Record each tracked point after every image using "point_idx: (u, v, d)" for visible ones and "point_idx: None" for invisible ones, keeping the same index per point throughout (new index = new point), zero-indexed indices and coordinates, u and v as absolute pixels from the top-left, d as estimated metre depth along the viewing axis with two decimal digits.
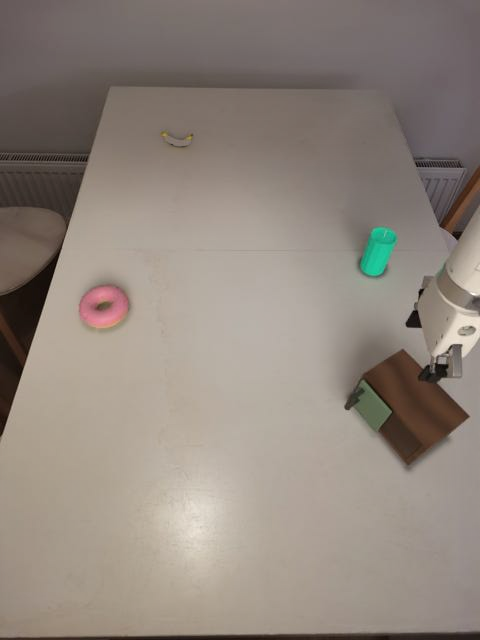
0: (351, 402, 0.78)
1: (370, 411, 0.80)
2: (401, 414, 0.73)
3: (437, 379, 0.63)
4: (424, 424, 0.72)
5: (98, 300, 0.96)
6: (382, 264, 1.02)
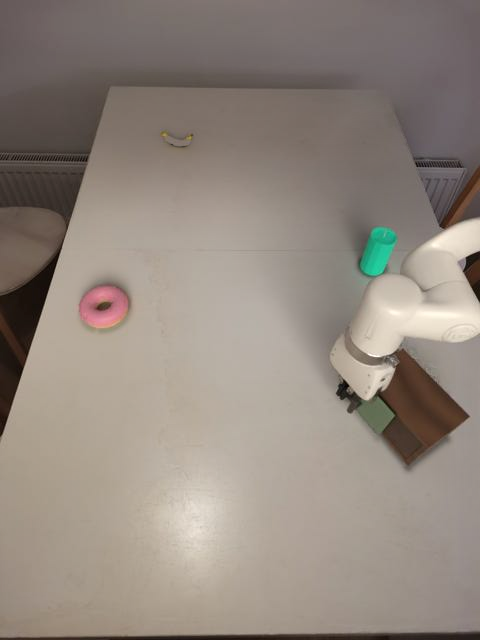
0: (354, 405, 0.78)
1: (372, 414, 0.80)
2: (401, 414, 0.73)
3: (354, 393, 0.77)
4: (424, 424, 0.72)
5: (98, 300, 0.96)
6: (382, 264, 1.02)
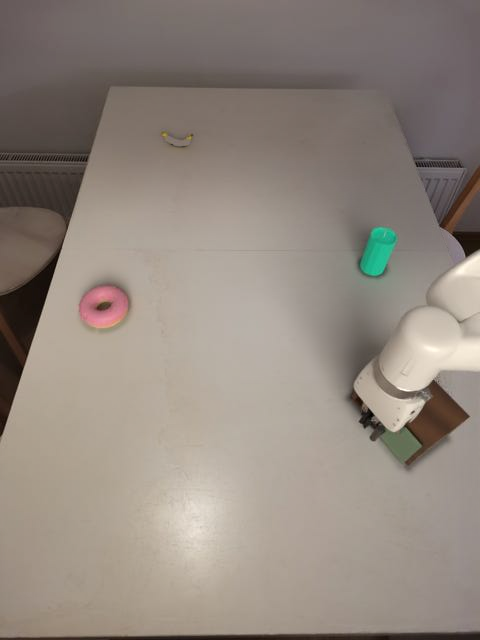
0: (378, 434, 0.75)
1: (397, 442, 0.77)
2: None
3: (378, 422, 0.74)
4: (424, 424, 0.72)
5: (98, 300, 0.96)
6: (382, 264, 1.02)
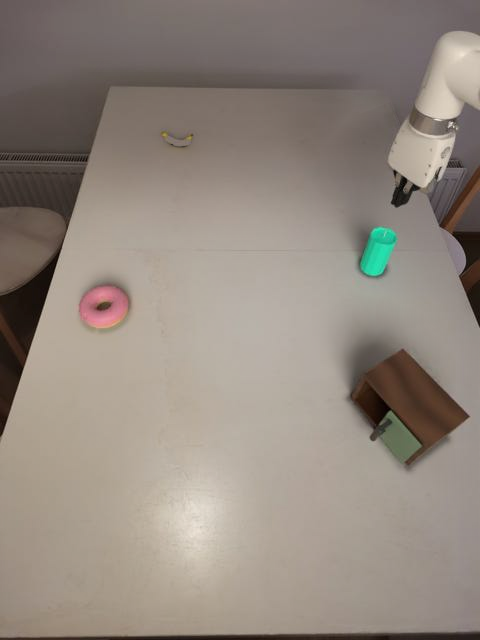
0: (378, 434, 0.75)
1: (397, 442, 0.77)
2: (401, 414, 0.73)
3: (408, 198, 0.86)
4: (424, 424, 0.72)
5: (98, 300, 0.96)
6: (382, 264, 1.02)
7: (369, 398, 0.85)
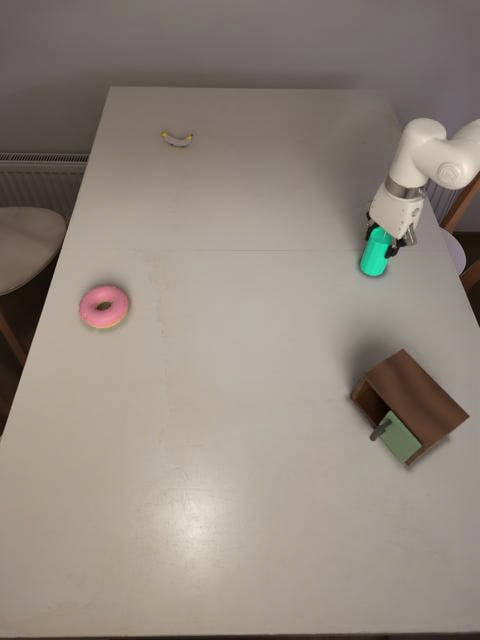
0: (378, 434, 0.75)
1: (397, 442, 0.77)
2: (401, 414, 0.73)
3: (397, 251, 0.97)
4: (424, 424, 0.72)
5: (98, 300, 0.96)
6: (382, 264, 1.02)
7: (369, 398, 0.85)
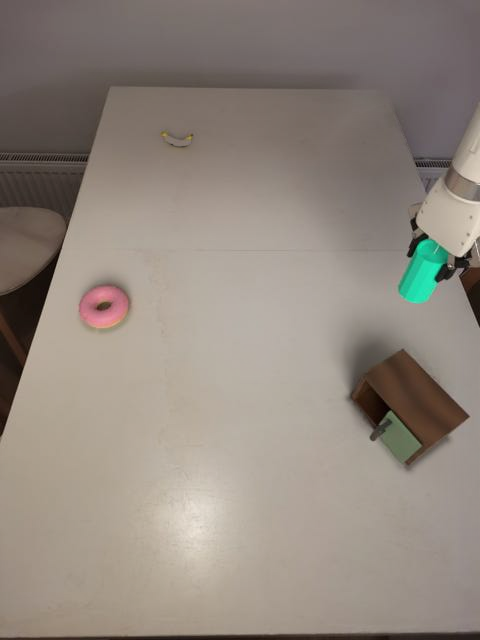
0: (378, 434, 0.75)
1: (397, 442, 0.77)
2: (401, 414, 0.73)
3: (453, 273, 0.71)
4: (424, 424, 0.72)
5: (98, 300, 0.96)
6: (429, 289, 0.76)
7: (369, 398, 0.85)
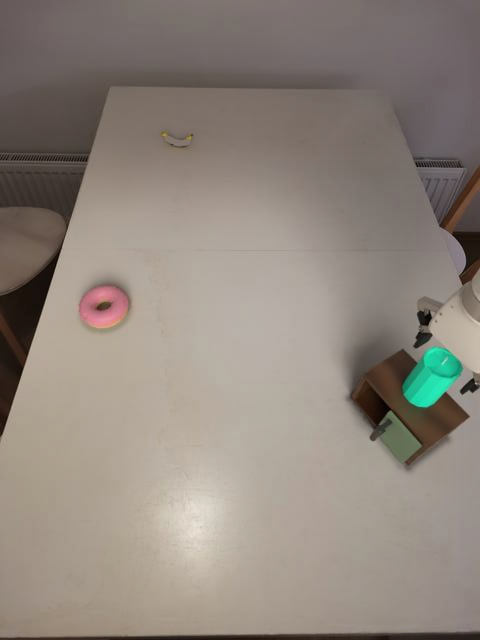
0: (378, 434, 0.75)
1: (397, 442, 0.77)
2: (401, 414, 0.73)
3: None
4: (424, 424, 0.72)
5: (98, 300, 0.96)
6: (437, 397, 0.71)
7: (369, 398, 0.85)
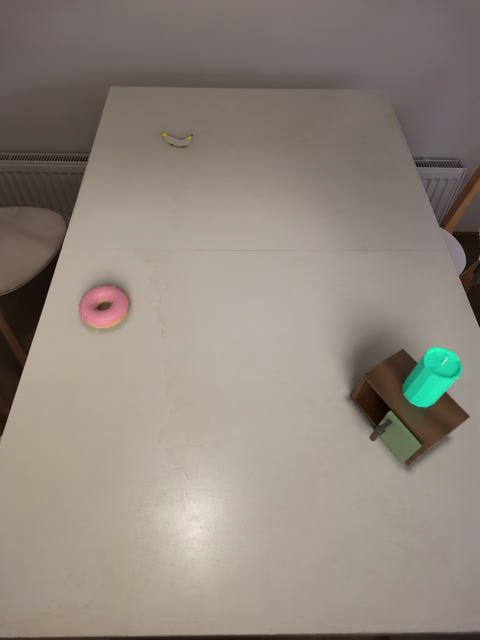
0: (378, 434, 0.75)
1: (397, 442, 0.77)
2: (401, 414, 0.73)
3: None
4: (424, 424, 0.72)
5: (98, 300, 0.96)
6: (437, 397, 0.71)
7: (369, 398, 0.85)
